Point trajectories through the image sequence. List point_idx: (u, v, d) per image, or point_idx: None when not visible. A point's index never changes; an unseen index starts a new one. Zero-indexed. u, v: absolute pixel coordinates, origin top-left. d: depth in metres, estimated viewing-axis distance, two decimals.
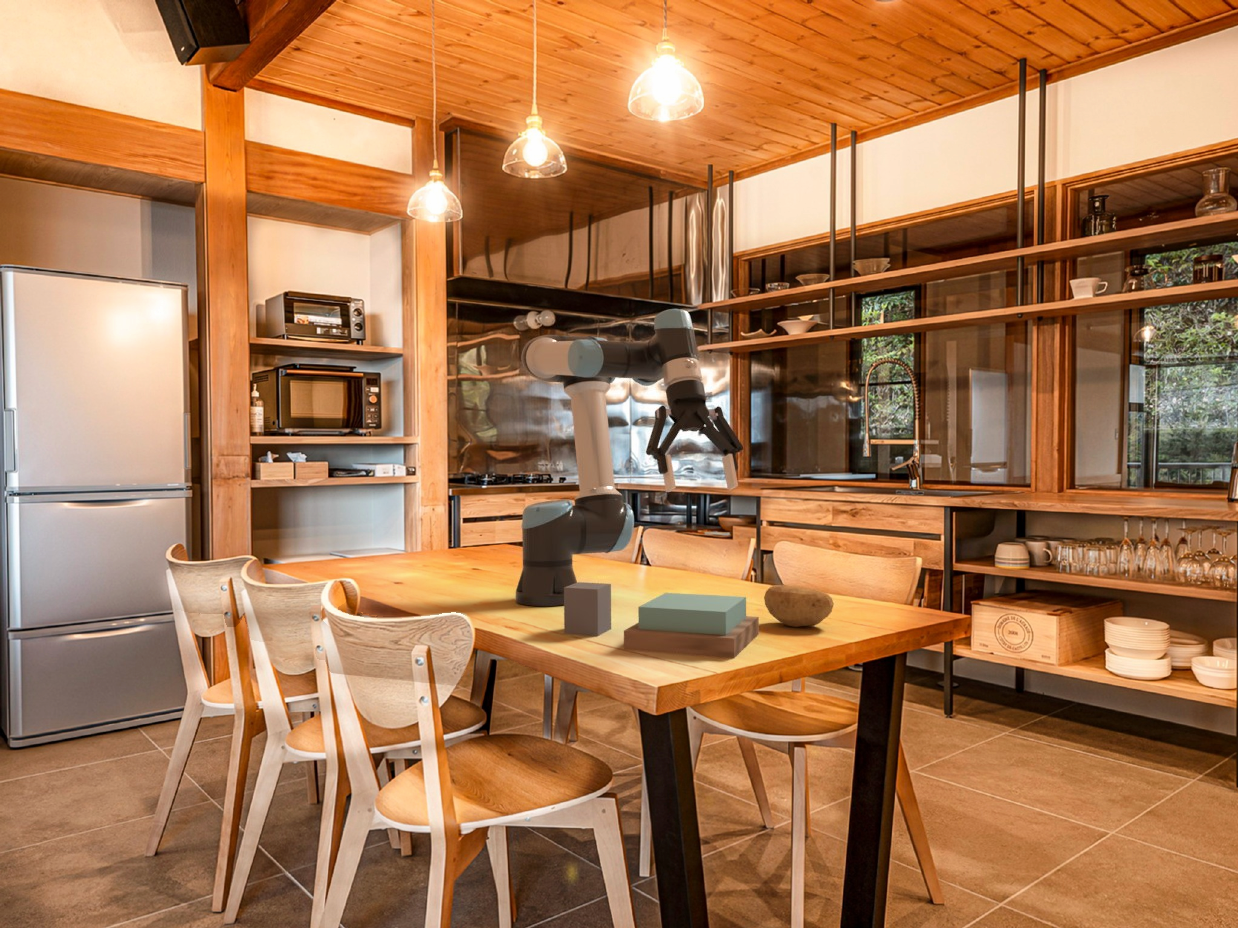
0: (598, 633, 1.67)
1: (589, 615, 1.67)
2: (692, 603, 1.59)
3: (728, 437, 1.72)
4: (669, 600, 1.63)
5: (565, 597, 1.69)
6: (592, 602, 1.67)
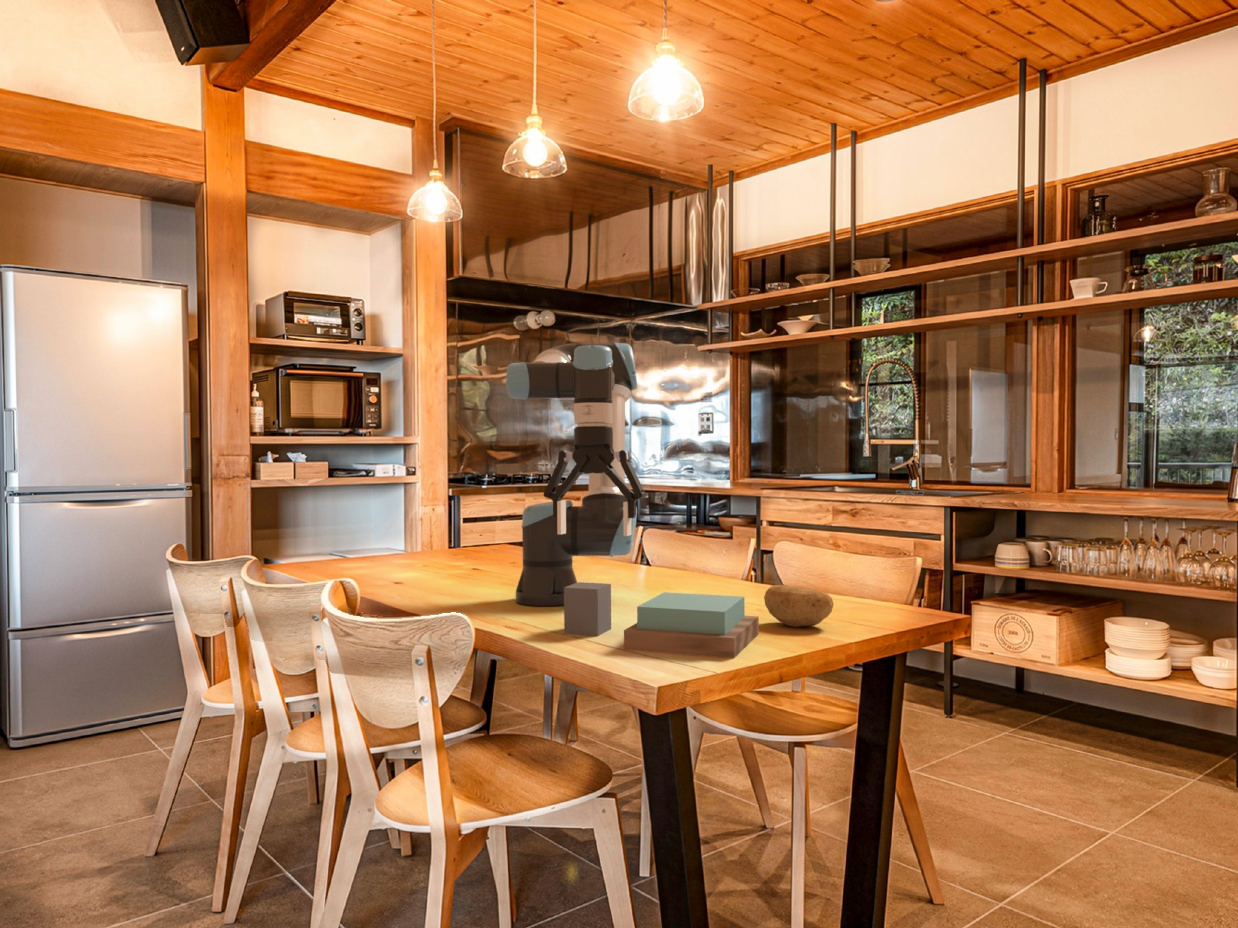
0: (598, 633, 1.67)
1: (589, 615, 1.67)
2: (691, 603, 1.59)
3: None
4: (668, 600, 1.63)
5: (565, 597, 1.69)
6: (592, 602, 1.67)
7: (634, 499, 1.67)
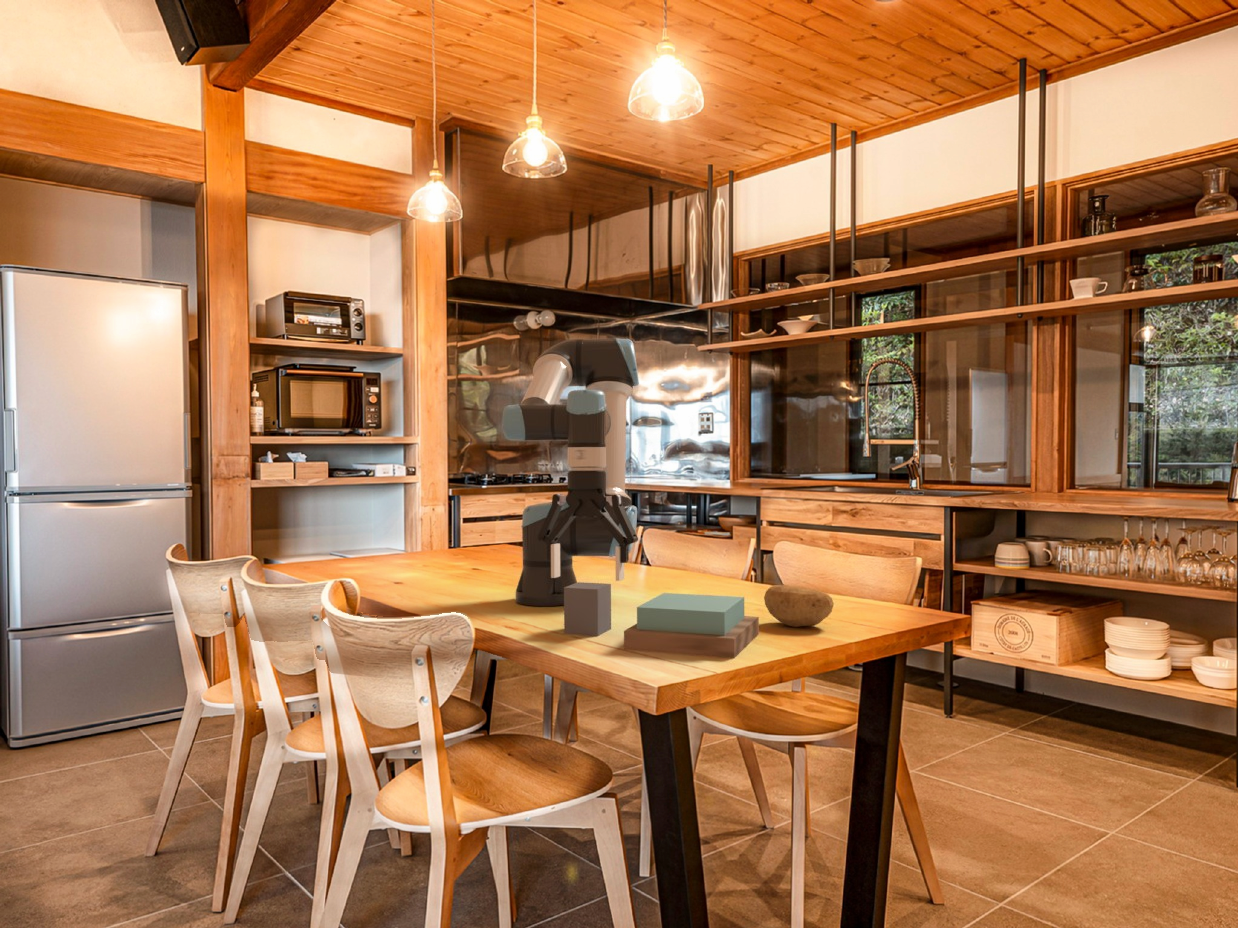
0: (598, 633, 1.67)
1: (589, 615, 1.67)
2: (690, 603, 1.59)
3: None
4: (667, 600, 1.63)
5: (565, 597, 1.69)
6: (592, 602, 1.67)
7: (626, 544, 1.67)
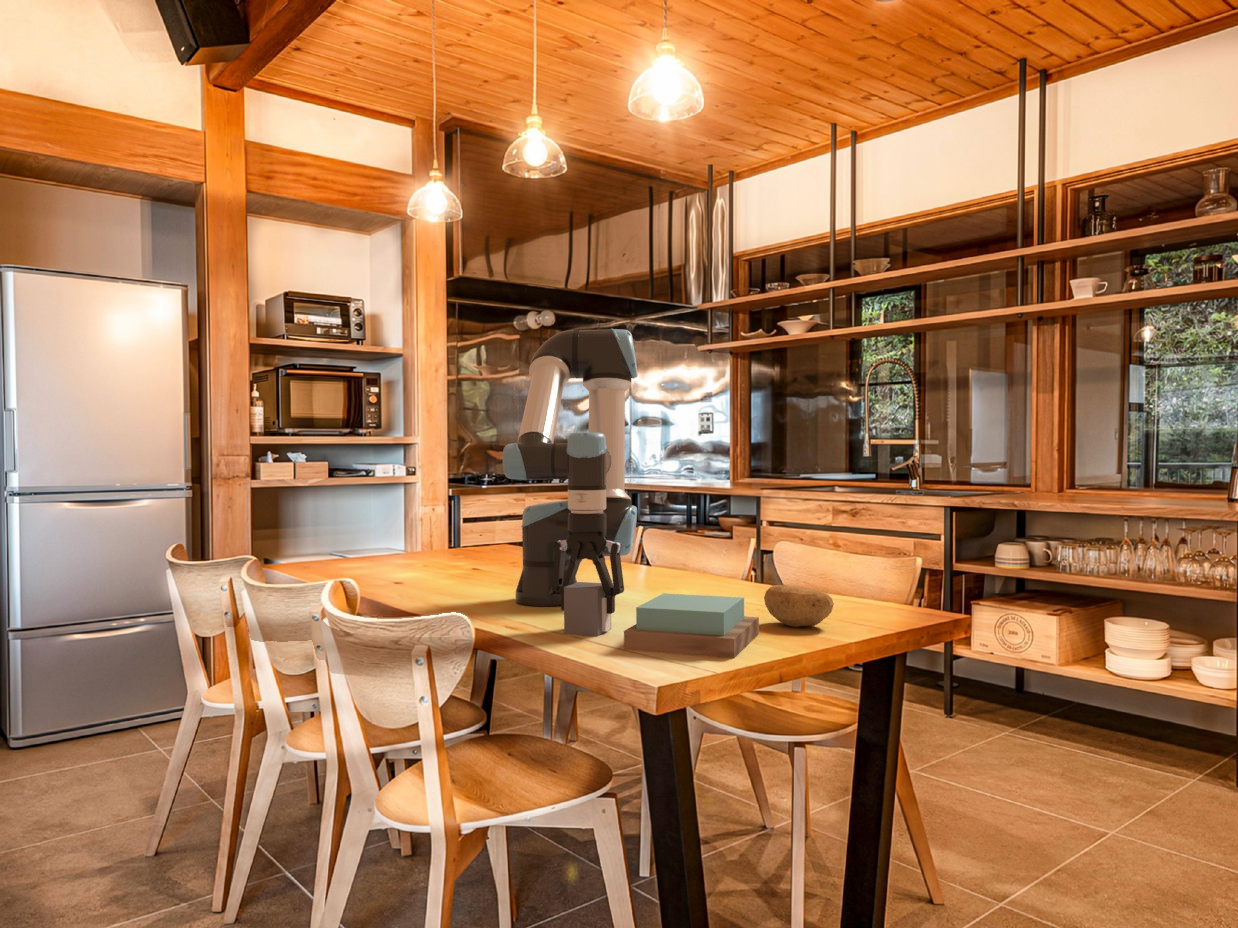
0: (598, 633, 1.67)
1: (589, 615, 1.67)
2: (690, 604, 1.59)
3: None
4: (667, 601, 1.63)
5: (565, 597, 1.69)
6: (592, 602, 1.67)
7: (612, 595, 1.68)
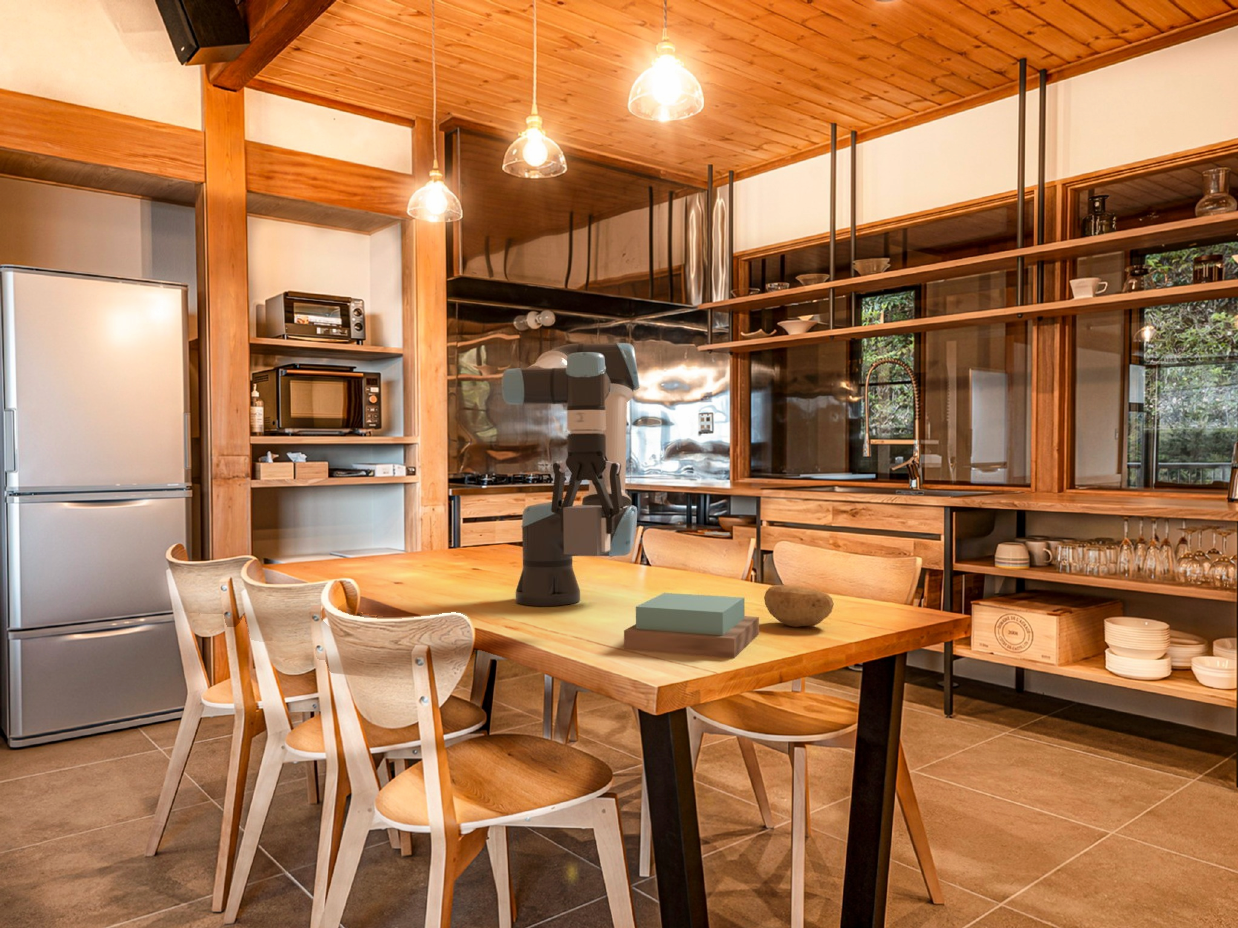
0: (597, 552, 1.67)
1: (588, 535, 1.67)
2: (690, 603, 1.59)
3: None
4: (667, 600, 1.63)
5: (564, 517, 1.69)
6: (592, 521, 1.67)
7: (612, 515, 1.68)
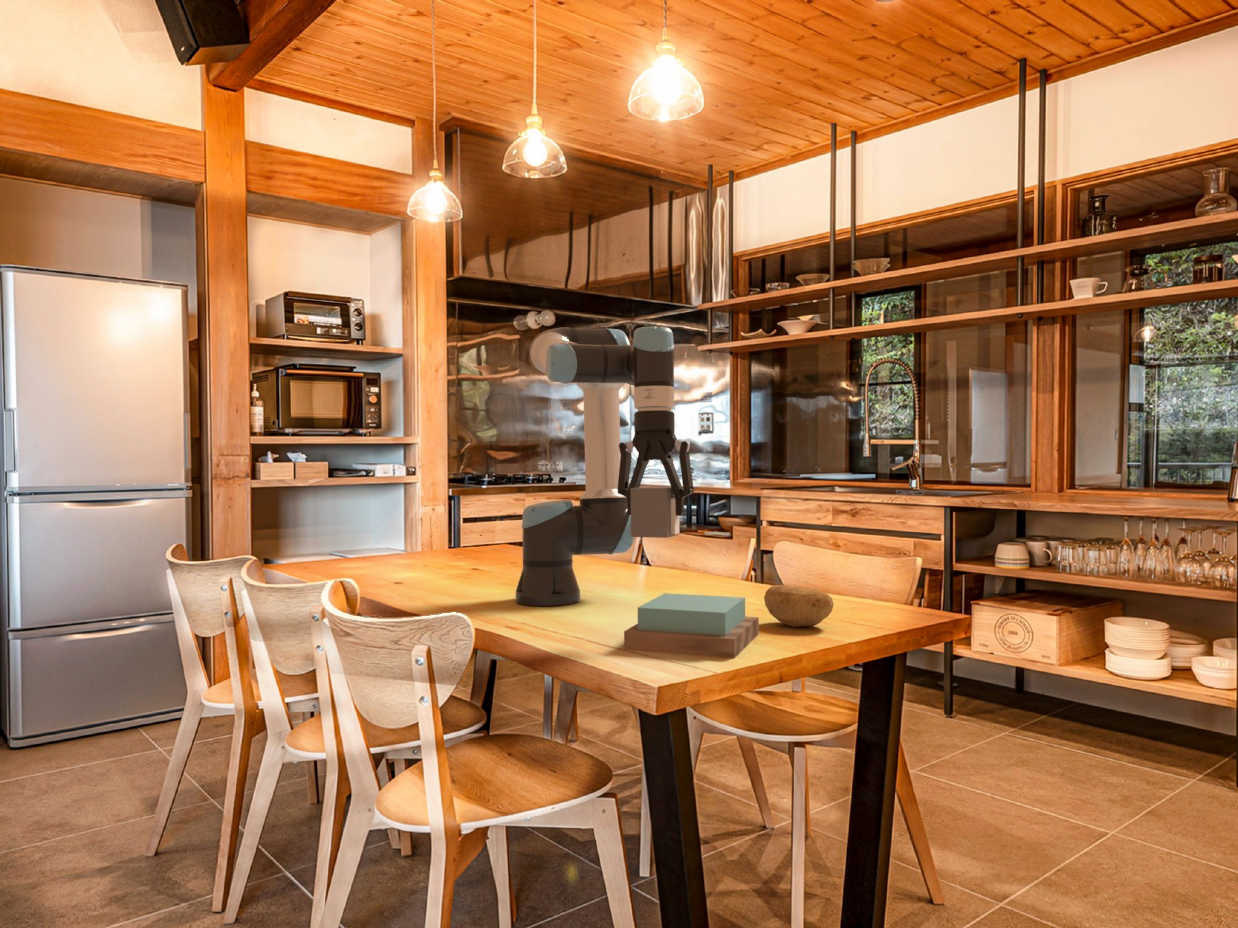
0: (667, 534, 1.59)
1: (657, 516, 1.60)
2: (691, 604, 1.59)
3: None
4: (668, 601, 1.63)
5: (632, 498, 1.61)
6: (661, 502, 1.59)
7: (682, 496, 1.61)
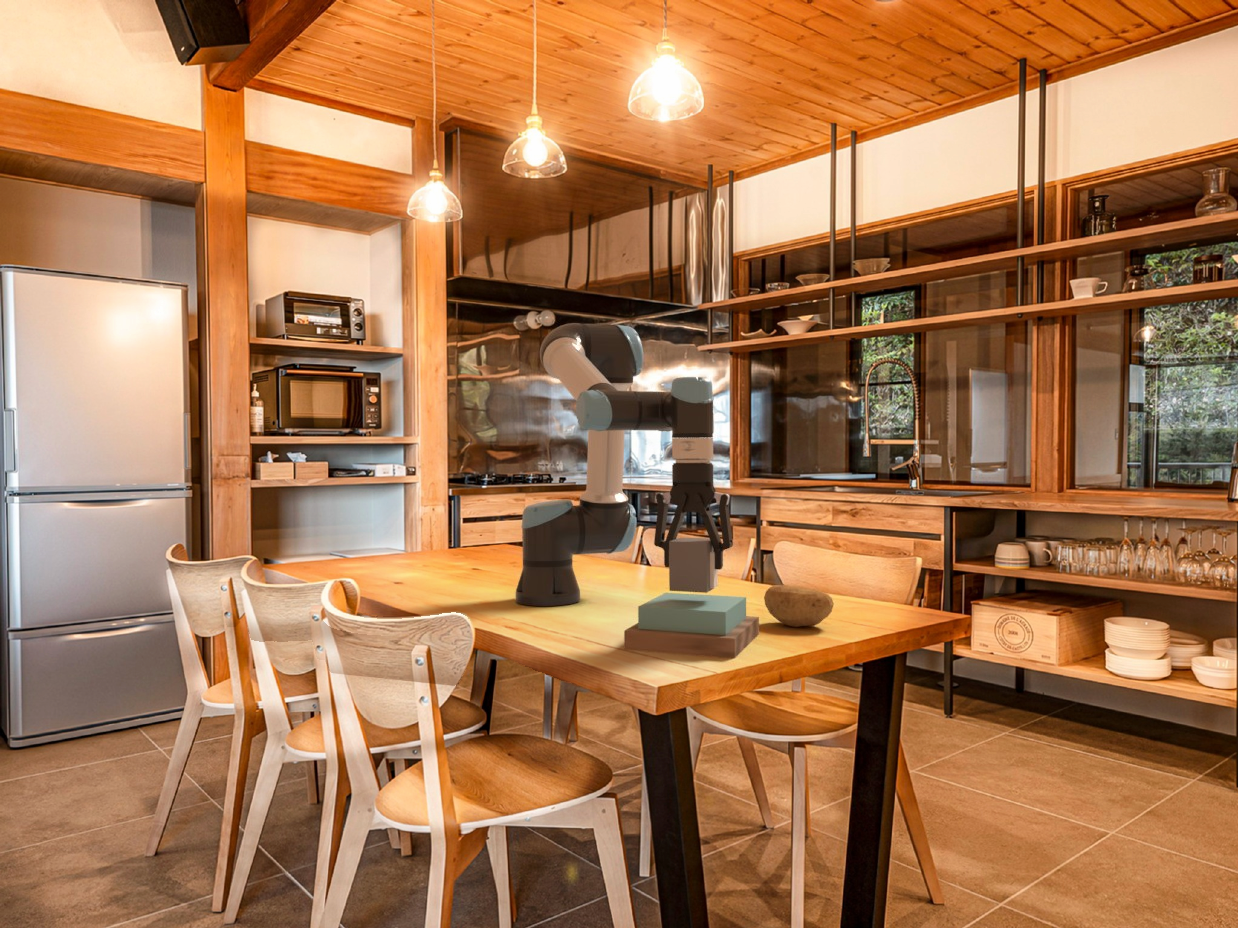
0: (707, 589, 1.57)
1: (697, 570, 1.57)
2: (692, 603, 1.59)
3: None
4: (669, 600, 1.63)
5: (670, 552, 1.59)
6: (701, 556, 1.57)
7: (721, 549, 1.58)
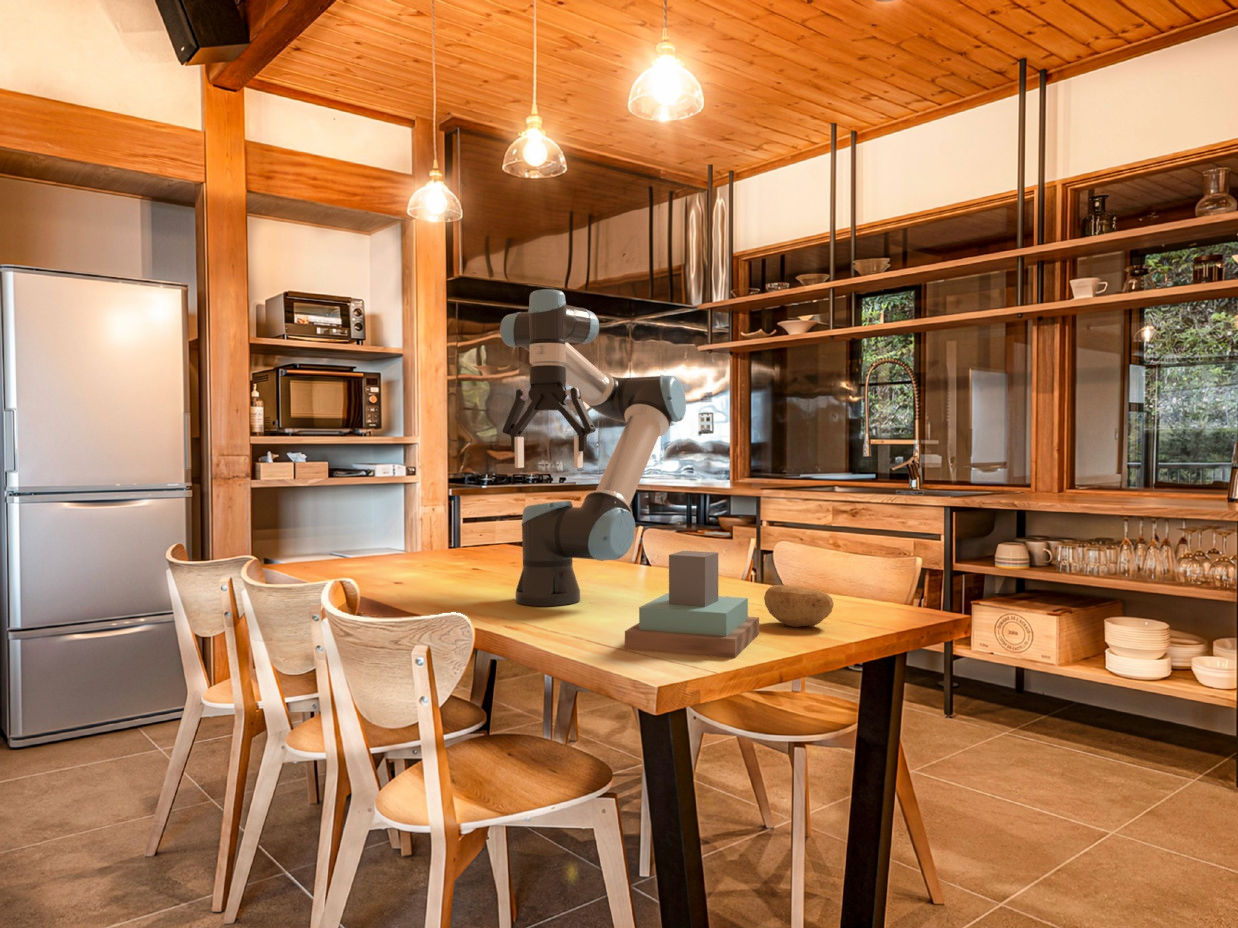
0: (705, 604, 1.57)
1: (695, 584, 1.57)
2: None
3: None
4: None
5: (670, 565, 1.59)
6: (699, 570, 1.57)
7: (584, 433, 1.78)
